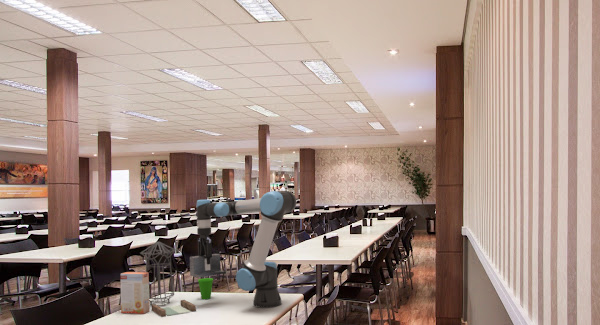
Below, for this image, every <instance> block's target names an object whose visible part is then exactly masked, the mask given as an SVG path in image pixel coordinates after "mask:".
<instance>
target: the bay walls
mask: <svg viewBox="0 0 600 325" xmlns="http://www.w3.org/2000/svg"><path fill="white" fill-rule="evenodd" d="M157 305H158V304H156V303H154V304H153V303H152V305H151V312H154V313H155V314H157V315H158V316H160V317H162V318H163V317H166V316H167V315H166V310H164V309H163V308H164V307H162V306H157ZM180 306H181V307H183V308H185V309H187V310H189V311H190V312H192V313H193V312H197V306H196V305H195V304H194V303H192V302H189V301H187V300H185V299H182V300H181V299H180Z"/></svg>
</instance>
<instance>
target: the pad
mask: <svg viewBox="0 0 600 325" xmlns="http://www.w3.org/2000/svg"><path fill="white" fill-rule="evenodd" d="M162 308H163V309H164V310H166V316H167V317H170V316H175V315H182V314H186V313H187V314H188V313H191V311H190V310H188V309H186V308H184V307H182V306H181V305H179V304H178V305H174V306H172V305H171V306H166V307H162Z"/></svg>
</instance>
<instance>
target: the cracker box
mask: <svg viewBox="0 0 600 325" xmlns="http://www.w3.org/2000/svg"><path fill="white" fill-rule="evenodd" d="M149 278H150V277H149V272H148V271H147V272H146V271H126V272H122V273H120V312H121V314H137V315H138V314H140V315H144V314H146V313H149V312H150V301H149V300H150V299H149V298H150V296H149V295H150V281H149V280H150V279H149Z"/></svg>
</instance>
